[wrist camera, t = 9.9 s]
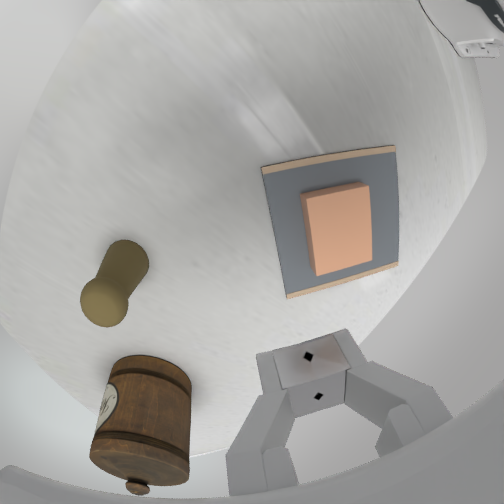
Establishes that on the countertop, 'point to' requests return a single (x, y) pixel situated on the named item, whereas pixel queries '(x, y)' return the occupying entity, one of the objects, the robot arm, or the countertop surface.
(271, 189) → the mat
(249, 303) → the countertop surface
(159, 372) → the wooden container
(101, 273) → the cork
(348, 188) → the tile
